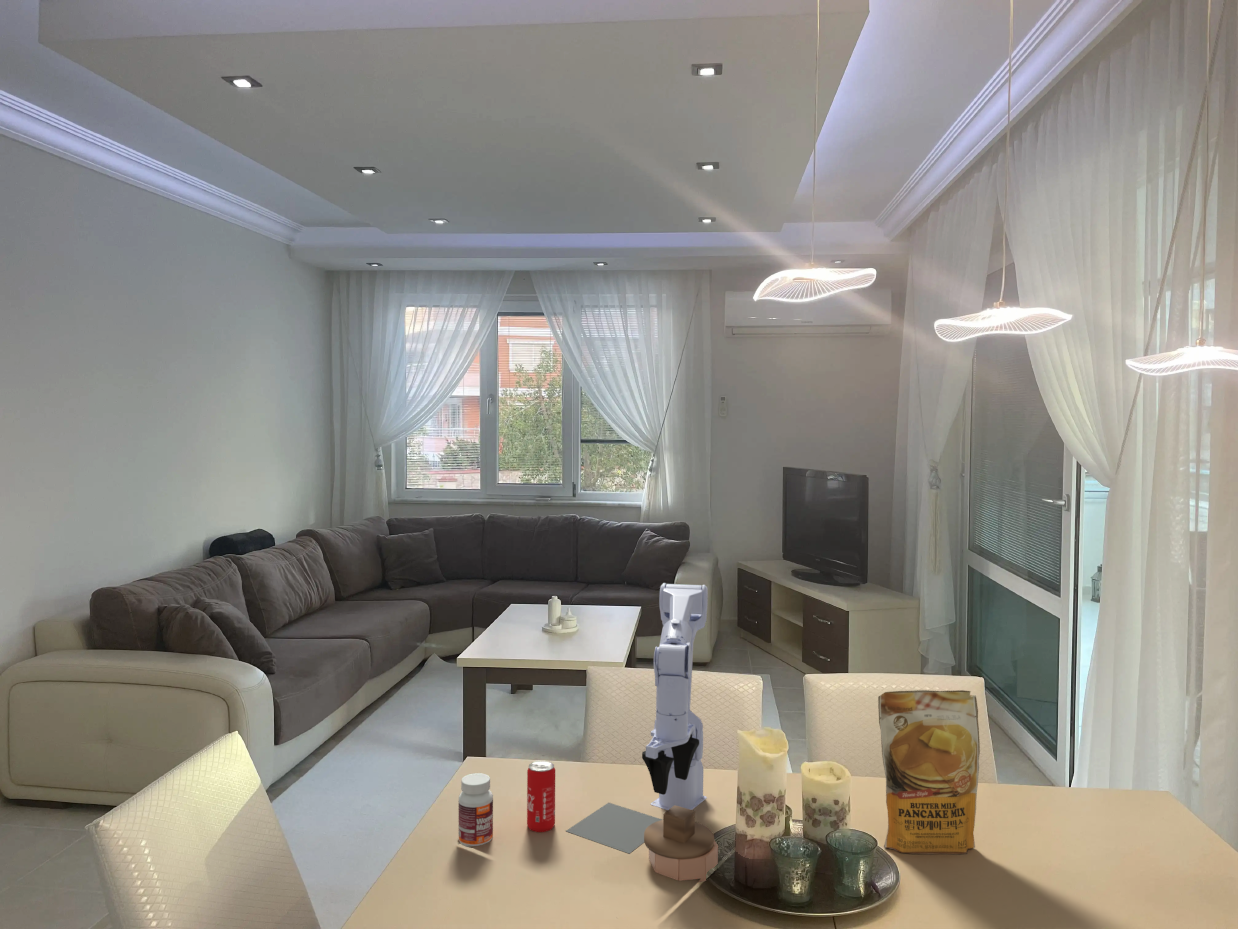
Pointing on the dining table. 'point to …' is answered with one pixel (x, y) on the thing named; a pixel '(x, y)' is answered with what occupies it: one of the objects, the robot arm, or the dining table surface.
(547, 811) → the beverage can
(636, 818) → the mat
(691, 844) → the brown disc
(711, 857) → the bowl
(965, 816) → the pancake mix bag
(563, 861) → the dining table surface
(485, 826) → the pill bottle
